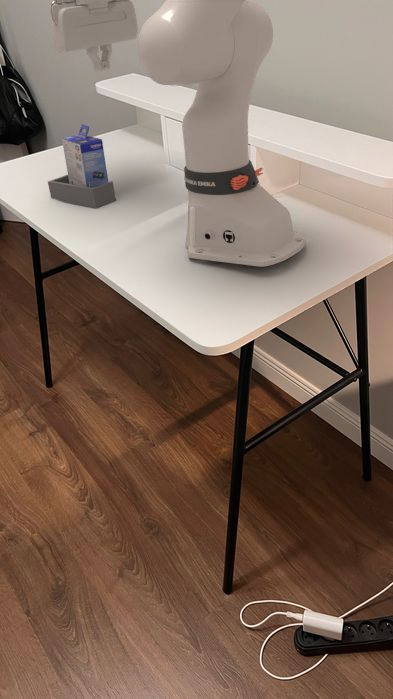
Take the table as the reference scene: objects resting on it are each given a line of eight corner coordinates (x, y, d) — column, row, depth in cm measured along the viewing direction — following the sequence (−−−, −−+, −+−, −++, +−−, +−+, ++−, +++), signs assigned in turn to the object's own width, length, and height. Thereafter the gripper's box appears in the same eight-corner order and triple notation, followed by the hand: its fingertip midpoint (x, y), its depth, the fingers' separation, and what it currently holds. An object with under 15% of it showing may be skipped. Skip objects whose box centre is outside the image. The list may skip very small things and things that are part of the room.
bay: (115, 200, 131) (112, 181, 129) (95, 208, 127) (92, 189, 125) (71, 192, 140) (67, 174, 137) (51, 199, 136) (47, 181, 134)
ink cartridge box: (113, 197, 133) (101, 126, 126) (89, 203, 131) (76, 132, 124) (93, 188, 141) (80, 121, 133) (70, 194, 138) (57, 126, 131)
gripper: (59, -3, 113) (74, 79, 120) (137, -13, 126) (147, 62, 133) (37, -1, 117) (53, 79, 124) (115, -10, 130) (126, 62, 137)
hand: (102, 70), depth 128 cm, fingers closed
